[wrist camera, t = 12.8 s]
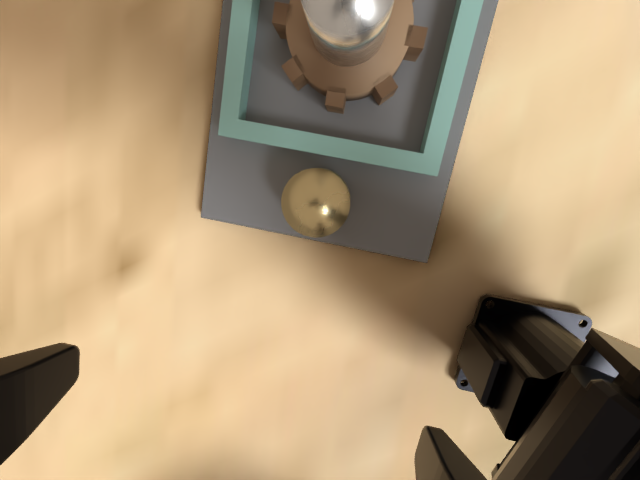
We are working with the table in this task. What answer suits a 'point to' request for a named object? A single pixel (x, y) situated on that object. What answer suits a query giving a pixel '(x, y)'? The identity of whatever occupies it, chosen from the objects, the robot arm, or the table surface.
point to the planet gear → (348, 46)
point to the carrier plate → (340, 135)
